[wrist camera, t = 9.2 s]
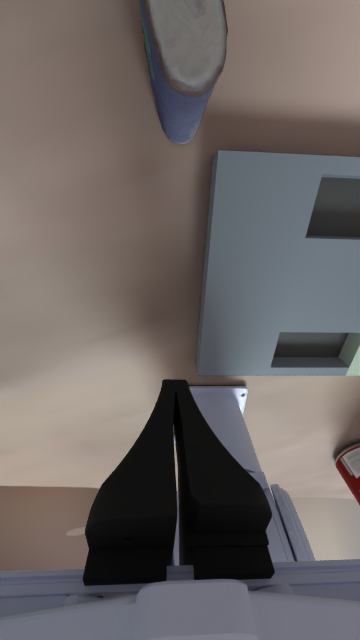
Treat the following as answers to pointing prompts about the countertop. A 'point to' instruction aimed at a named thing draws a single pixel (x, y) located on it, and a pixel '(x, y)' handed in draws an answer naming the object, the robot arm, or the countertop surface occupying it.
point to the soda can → (350, 468)
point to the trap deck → (281, 266)
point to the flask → (183, 59)
